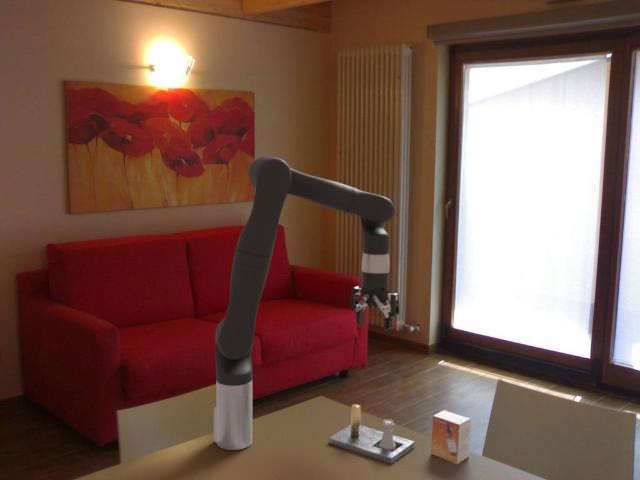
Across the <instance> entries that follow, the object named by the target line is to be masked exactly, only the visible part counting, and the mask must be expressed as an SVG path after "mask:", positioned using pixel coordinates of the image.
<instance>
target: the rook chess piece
mask: <svg viewBox="0 0 640 480" xmlns="http://www.w3.org/2000/svg"><path fill="white" fill-rule="evenodd" d="M381 426H382V428H383V429H382V432H383V437H382V440H381V442H380V443H379V447H378V448H380V449H384V450H387V451H390V452H394V451H395V450H396V449H397V447H396V444H395V443H394V440H393V435H394V434H393V432H394V429H393V428H394V427H395V423H394V420H393V419H391V418H390V419H389V418H386V419H383V422H382V423H381Z"/></svg>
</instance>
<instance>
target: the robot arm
mask: <svg viewBox="0 0 640 480" xmlns="http://www.w3.org/2000/svg"><path fill="white" fill-rule="evenodd" d="M248 180H249V181H250V183H251V185H252V187H254V188H255V189H254V190H255V193H254V196H253V202H252V203H253V204H252V209H251V212H250V214H249V217H248V219H247V221H246V223H245V225H244V227H243V228H242V231H241V232H240V235H239V237H238V240H237V242H236V246H235V251H234V255H233V260H232V266H231V274H230V289H229V291H230V292H229V301H228V302H229V303H228V307H227V311H226V315H225V316H224V317H225V318H223V319H222V320H221V321H220V322H219V323H218V324H217V327H216V330H215V334H214V335H215V338H214V340H215V345H214V346H215V348H214V349H215V375H216V377H215V379H216V383H215V384H216V388H215V389H216V405H215V406H214V407H213V442H214V443H215V444H216V446H218V448H220V449H223V450H225V451H226V450H228V451H238V450H239V451H240V450H244V449H247V448H249V447H250V446H251V445H252V444H253V363H252V347H253V345H254V340H255V331H256V323H257V315H258V309H259V304H260V301H261V298H262V295H263V292H264V288H265V285H266V282H267V279H268V278H267V277H268V274H269V270H270V268H271V267H270V265H271V262H272V259H273V258H272V257H273V253H274V247H275V242H276V238H277V232H278V229H279V221H280V217H281V215H282V210H283V208H284V204H285V201H286V199H287V196H288V195H290V196H294V197H298V198H301V199H304V200H307V201H309V202H311V203H315V204H317V205H320V206H323V207H325V208H328V209H331V210H334V211H338V212H341V213H344V214H349V215H355V216H358V217H360V219H359V220H360V224H361V231H362V235H363V243H362V244H363V245H362V257H361V258H362V259H361V280H360V281H361V282H360V284H361V287H360V286H359V285H357V286H354V287H352V288H351V293H350V305H349V307H350V309H353V310H355V313H356V317H355V318H356V319H355V321H356V323H357V326H363V325H364V323H365V311H364V310H365V309H366V307H367V306H368V307H374V308H379V311H381V312H382V313H383V315H384V317H383V318H384V320H383V321H384V323H383V330H384V332H385V331H386V332H388V331H390V330H391V329H392V327H393V317H396V316H398V315H399V316H400V293H397V292H396V293H395V292H394V293H390V292H389V287H390V269H391V267H390V265H391V262H390V261H391V260H390V235H389V233H388V232H387V231H386V229H385V223H388V222H390V221H391V220H392V219H393V218H394V216H395V213H396V207H395V205H394V203H393V201H392V200H391V199H389V198H388V197H386V196H382V195H379V194H375V193H371V192H369V191H368V192H367V191H363V190H360V189H358V188H356V187H353V186H350V185H347V184H343V183H341V182H339V181H334V180H330V179H326V178H322V177H318V176H314V175H310V174H307V173H303V172H301V171H298V170H295V169H293V168H292V167H290V165H289V164H288V163H287V162H286V161H285V160H283V159H281V158H280V157H274V156H267V155H266V156H261V157H259V158H256V160H254V161H253V162H252V163H251V165H250V166H249V168H248ZM360 295H361V297H362V299H361V301H360Z"/></svg>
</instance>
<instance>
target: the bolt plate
mask: <svg viewBox="0 0 640 480" xmlns="http://www.w3.org/2000/svg"><path fill="white" fill-rule="evenodd" d="M361 409H362V406H361V404H358V403H354V404H352V405H351V416H350V417H351V418H350V419H351V420H350V424H349V425H348V426H346V427H345V428H343V429H341V430H340V431H338V432H336V433H334V434H332V435H331V436H329V437H328V444H330V445H332V446H336V447H339V448H342V449H345V450H348V451H351V452H353V453H356V454H360V455H362V456H366V457H369V458H372V459H375V460H377V461H381V462H383V463H386V464H390V465H393V464H394V463H395V462H396V461H398V460H399V459H400V458H402V457H403V456H405V454H407V453H408V452H411V451H412V450H413V449H414V448H416V447H415V445H416V441H414V440H412V439H408V438H405V437H401V436H397V435H394V434H393V440H394V443H395V444H396V447H395V448H396V450H395V451H394V452H390V451H387V450H384V449H380V448H379V447H380V446H379V443H380V442H381V440H382V437H383V430H382V431H381V430H378V429H375V428H370V427H368V426H365V425H361V418H362V417H361V413H362V410H361Z"/></svg>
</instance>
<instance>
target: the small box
mask: <svg viewBox="0 0 640 480" xmlns="http://www.w3.org/2000/svg"><path fill="white" fill-rule="evenodd" d="M471 421H472V419H471V417H467V416H463V415H460V414H457V413H454V412H451V411H448V410H446V409H445V410H441V411H440V412H438V413H435V414H433V416H432V428H431V429H432V430H431V440H430V441H431V445H430V454H431V455H433V456H436V457H439V458H441V459H444V460H445V461H447V462H450V463H453V464H454V465H459V464H460V463H462V462H463V461H465V460H466V459H468V458H469V457H470V440H471V423H472V422H471ZM467 457H468V458H467ZM464 459H465V460H464ZM461 461H462V462H461Z"/></svg>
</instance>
